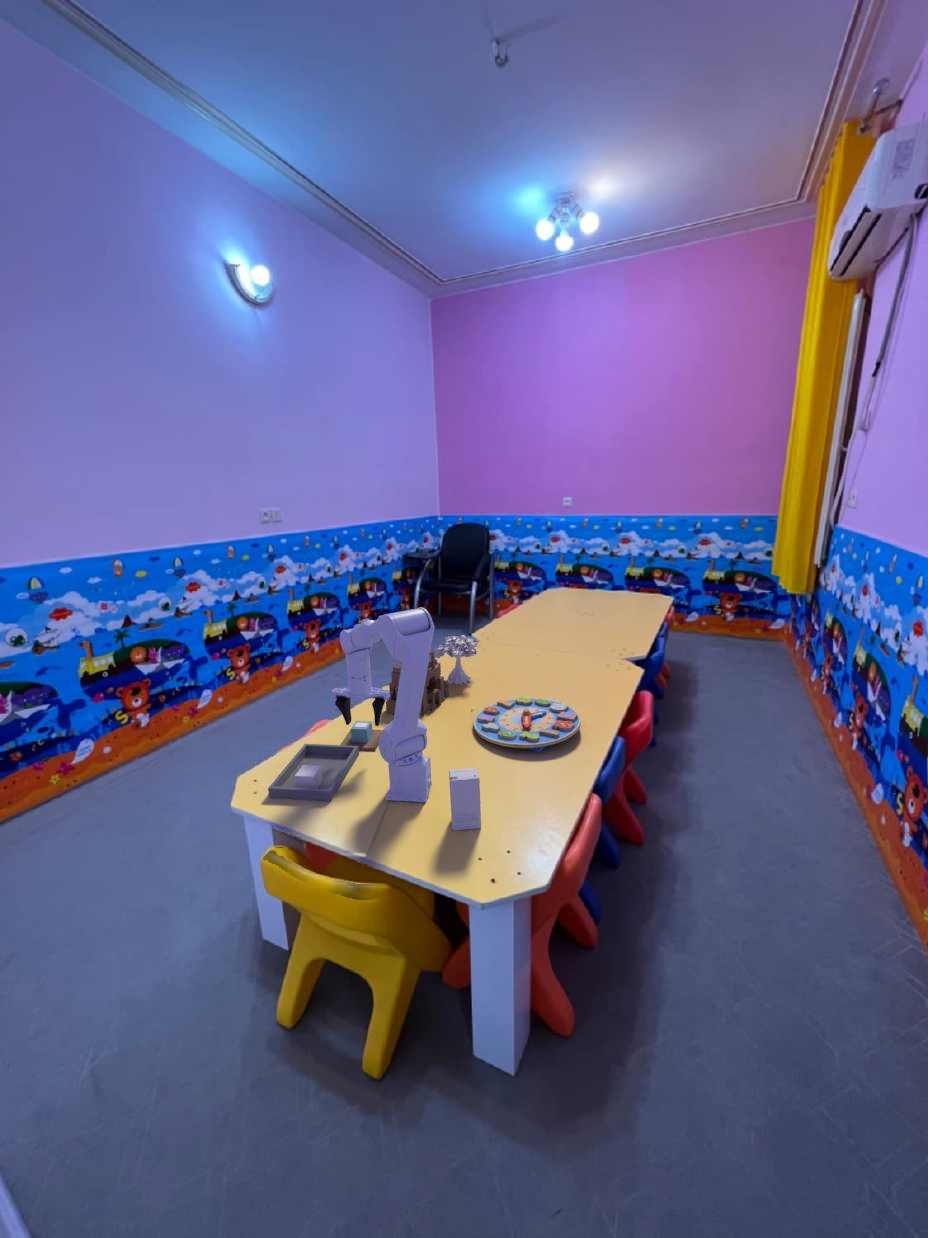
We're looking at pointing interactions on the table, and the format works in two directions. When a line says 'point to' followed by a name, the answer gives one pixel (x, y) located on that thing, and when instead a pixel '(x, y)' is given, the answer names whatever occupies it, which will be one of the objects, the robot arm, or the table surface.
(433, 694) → the brown wooden block structure
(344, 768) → the bin
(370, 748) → the pad
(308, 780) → the plain block
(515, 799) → the table surface
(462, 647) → the tree
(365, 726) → the labelled block
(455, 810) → the skincare box
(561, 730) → the shape sorting clock
